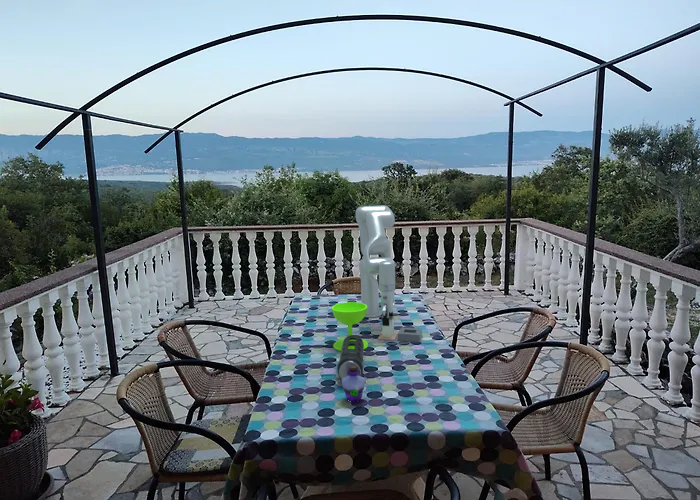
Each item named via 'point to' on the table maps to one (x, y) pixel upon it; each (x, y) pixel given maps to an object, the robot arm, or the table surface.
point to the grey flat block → (410, 334)
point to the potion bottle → (353, 384)
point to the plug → (388, 328)
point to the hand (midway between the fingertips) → (387, 322)
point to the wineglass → (349, 319)
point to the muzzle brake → (351, 355)
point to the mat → (388, 337)
